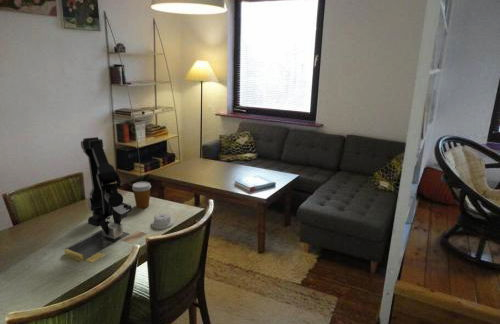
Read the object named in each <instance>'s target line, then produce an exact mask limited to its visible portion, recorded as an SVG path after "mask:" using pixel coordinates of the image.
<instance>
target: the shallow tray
mask: <svg viewBox="0 0 500 324" xmlns="http://www.w3.org/2000/svg"><path fill="white" fill-rule="evenodd" d="M128 235H130V233H129V232H126V231H123V234H122V235H120V236H119V237H117V238H115V239H113V238H110V237H107V236H104V235H102V229H99V230H98V231H96V232H95V233H93V234H90V235H88V236H86V237H85V238H82V239H80V240H78V241H76V242H74V243H72V244H70V245H68V246H66V247H65V248H64V250H63V251H64V256H65V257H67V258H70V259H72V260H75V261H77V262H79V263H81V262H83V261H86V259H88V258H89V257H91V256H93V255H95V254H96V253H100V252H101V251H102V250H104V249H106V248H107V247H109V246H111V245H113V244H115V243H116V242H119V241H121V239H123V238H125V237H127V236H128Z"/></svg>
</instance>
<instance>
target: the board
mask: <svg viewBox="0 0 500 324" xmlns="http://www.w3.org/2000/svg"><path fill="white" fill-rule="evenodd" d="M147 235H148V233H147V232H144V231H140V230H136V231H134V232H132V233H129V235H127V236H126V237H124V238H122V239H120V241H121V242H124V243H129V244H132V243H135V242H137V241H138V240H139V239H142V238H143V237H144V236H147Z"/></svg>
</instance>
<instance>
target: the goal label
mask: <svg viewBox="0 0 500 324" xmlns="http://www.w3.org/2000/svg"><path fill="white" fill-rule="evenodd" d="M105 256H106V254H103V253H101V252H97V253H95V254H93V255H92V256H90V257H89V258H87V259H85V261H87V262H89V263H91V264H94V263H96V262H97V261H99V260H100V259H102V258H103V257H105Z"/></svg>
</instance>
